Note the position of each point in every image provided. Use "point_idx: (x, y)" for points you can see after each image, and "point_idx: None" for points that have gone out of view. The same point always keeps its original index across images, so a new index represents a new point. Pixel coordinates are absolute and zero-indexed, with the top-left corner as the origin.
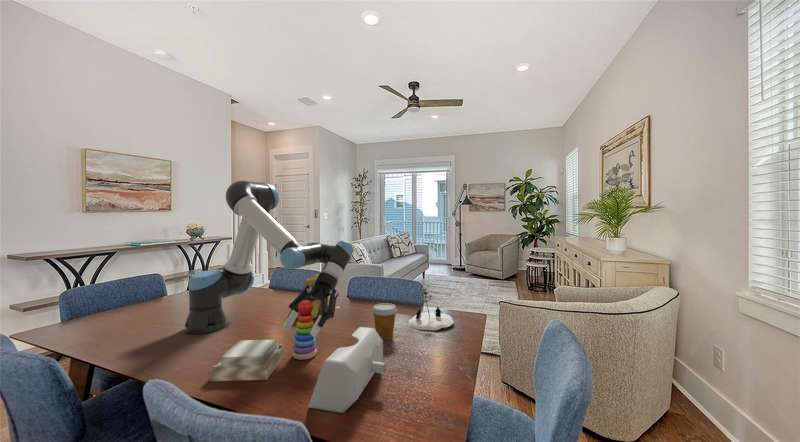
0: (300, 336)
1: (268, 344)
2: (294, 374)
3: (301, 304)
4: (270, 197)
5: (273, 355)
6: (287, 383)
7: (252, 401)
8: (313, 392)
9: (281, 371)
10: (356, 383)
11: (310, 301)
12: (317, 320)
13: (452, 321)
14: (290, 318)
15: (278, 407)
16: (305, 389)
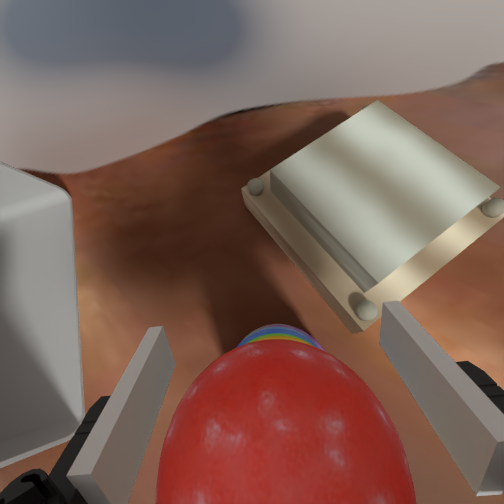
0: (258, 335)
1: (352, 232)
2: (201, 262)
3: (260, 367)
4: None
5: (312, 249)
6: (182, 224)
7: (195, 148)
8: (20, 170)
9: (249, 251)
10: None
11: None
12: (111, 410)
13: None
14: (425, 365)
15: (130, 166)
16: (121, 233)
